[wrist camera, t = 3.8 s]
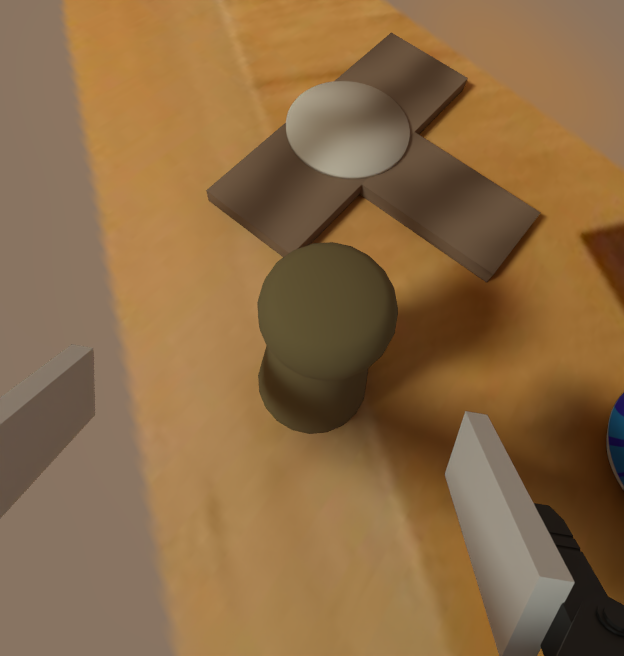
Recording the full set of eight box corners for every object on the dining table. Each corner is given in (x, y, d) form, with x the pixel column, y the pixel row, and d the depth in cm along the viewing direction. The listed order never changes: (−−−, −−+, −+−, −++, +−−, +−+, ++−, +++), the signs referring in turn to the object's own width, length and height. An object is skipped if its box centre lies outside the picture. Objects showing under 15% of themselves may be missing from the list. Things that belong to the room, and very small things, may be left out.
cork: (327, 311, 28) (353, 190, 17) (387, 395, 26) (455, 317, 16) (238, 362, 26) (210, 263, 16) (295, 455, 24) (304, 411, 14)
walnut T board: (579, 160, 33) (591, 146, 32) (424, 363, 27) (430, 356, 25) (381, 40, 37) (384, 24, 36) (200, 194, 30) (197, 180, 29)
